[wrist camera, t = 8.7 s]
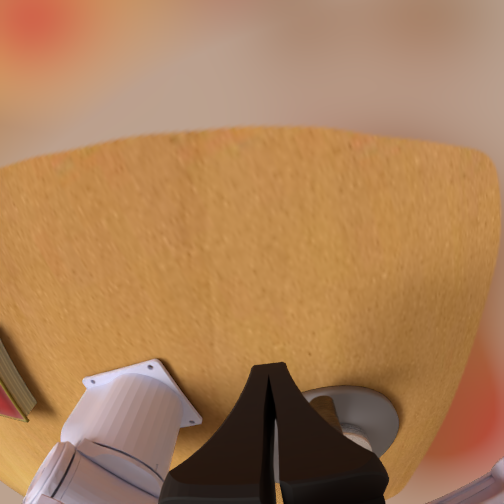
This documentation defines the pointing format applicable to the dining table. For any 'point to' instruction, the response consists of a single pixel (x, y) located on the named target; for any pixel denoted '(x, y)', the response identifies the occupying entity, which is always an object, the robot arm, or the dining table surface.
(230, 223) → the dining table surface
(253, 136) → the dining table surface
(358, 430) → the dial
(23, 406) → the hardcover book
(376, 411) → the dial base
